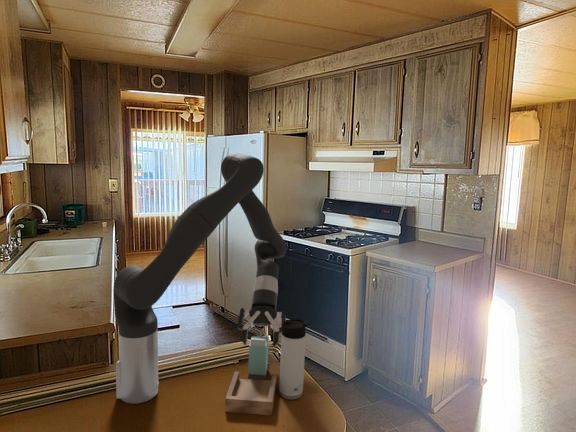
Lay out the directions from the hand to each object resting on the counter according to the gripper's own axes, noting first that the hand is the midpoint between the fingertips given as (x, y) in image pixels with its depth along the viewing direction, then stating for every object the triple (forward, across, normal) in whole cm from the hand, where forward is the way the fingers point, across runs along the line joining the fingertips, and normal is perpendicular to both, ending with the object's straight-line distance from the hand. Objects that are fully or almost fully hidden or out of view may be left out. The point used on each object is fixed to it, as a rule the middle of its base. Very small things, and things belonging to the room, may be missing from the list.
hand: (259, 345), depth 115 cm
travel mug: (+13, +10, -2) cm, 16 cm away
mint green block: (+7, 0, +4) cm, 8 cm away
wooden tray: (+15, 0, -4) cm, 15 cm away
